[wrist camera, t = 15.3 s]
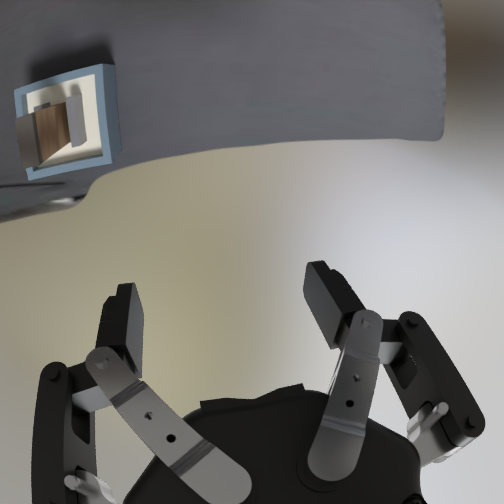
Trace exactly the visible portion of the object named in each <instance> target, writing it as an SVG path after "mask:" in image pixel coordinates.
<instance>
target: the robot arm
mask: <svg viewBox="0 0 504 504" xmlns="http://www.w3.org/2000/svg"><path fill="white" fill-rule="evenodd" d="M303 292H304V297H305V300H306V302H307V304H308V306H309V307H310V310H311V312H312V314H313V316H314V317H315V319H316V321H317V323H318V325H319V327H320V329H321V331H322V333H323V335H324V337H325V339H326V341H327V343H328V345H329V347H330V349H335V348H339V349H340V351H341V353H340V355H339V358H338V361H337V365H336V368H335V371H334V374H333V377H332V380H331V383H330V385H329V388H328V391H327V393H326V394H325V393H322V392H319V391H314V390H305V389H304V386H303V384H302V383H301V384H297V385H292V386H288V387H283V388H279V389H276V390H274V391H272V392H270V393H267V394H265V395H263V396H261V397H258V398H256V399H236V398H221V399H213V400H206V401H200V405H201V408H199V409H197V410H194V411H192V412H191V413H189V414H188V415H186V416H185V417H183V418H182V419H181V418H180V417H179V416H178V415H177V414H176V413H175V412H174V411H173V410H172V409H171V408H170V407H169V406H168V405H167V404H166V403H165V402H164V401H163V400H162V399H161V398H160V397H159V396H158V395H157V394H156V393H155V392H154V391H153V390H152V389H151V388H150V387H149V386H148V385H147V384H146V383H145V382H144V381H142V382H141V381H140V380H139V379H138V378H142V348H143V326H144V314H143V309H142V305H141V302H140V298H139V295H138V291H137V288H136V285H135V283H125V284H119V285H118V288H117V293H116V296H109V297H108V299H107V300H106V302H105V303H104V305H103V309H102V315H101V319H100V324H99V330H98V335H97V340H96V346H95V349H94V350H92V351H91V352H90V353H89V354H88V355H87V357H86V360H85V362H83V363H80V364H78V365H74V366H72V367H68V368H67V367H66V365H65V364H63V363H61V362H52V363H50V364H48V365H46V366H45V367H44V369H43V370H42V372H41V375H40V380H39V386H38V393H37V400H36V408H35V416H34V427H33V439H32V440H33V441H32V461H31V487H32V504H118V503H117V502H116V501H115V499H114V497H113V495H112V492H111V489H110V487H109V486H108V484H106V483H105V482H104V481H103V480H101V479H99V478H98V477H97V467H96V449H95V411H96V410H99V409H102V408H105V407H108V406H110V405H113V406H114V408H115V409H116V410H117V411H118V413H119V414H120V415H121V416H122V418H123V419H124V420H125V421H126V422H127V423H128V425H129V426H130V427H131V428H132V429H133V431H134V432H135V433H136V434H137V435H138V436H139V437H140V439H141V440H142V441H143V442H144V443H145V444H146V445H147V446H148V447H149V448H150V450H152V452H153V453H154V454H155V456H154V458H153V459H152V461H151V462H150V463H149V465H148V466H147V468H146V469H145V470H144V472H143V473H142V475H141V476H140V477H139V479H138V480H137V482H136V483H135V484H134V486H133V487H132V489H131V490H130V491H129V493H128V494H127V496H126V497H125V499H124V501H123V504H427V503H426V501H425V500H424V498H423V496H422V493H421V488H420V469H421V468H422V467H424V466H426V465H428V464H430V463H432V462H433V463H439V462H442V461H444V460H446V459H447V458H448V457H450V456H452V455H453V454H455V453H456V452H457V451H459V450H460V449H462V448H463V447H465V446H466V445H467V444H469V443H470V442H471V441H473V440H474V439H476V438H477V437H478V436H479V435H480V434H482V432H483V431H484V428H485V418H484V416H483V414H482V412H481V410H480V408H479V406H478V404H477V403H476V401H475V399H474V397H473V396H472V394H471V392H470V390H469V389H468V387H467V385H466V383H465V382H464V380H463V378H462V377H461V375H460V373H459V372H458V370H457V368H456V367H455V366H454V364H453V362H452V360H451V359H450V357H449V356H448V354H447V353H446V351H445V350H444V348H443V346H442V345H441V343H440V342H439V340H438V339H437V338H436V336H435V334H434V333H433V331H432V330H431V328H430V327H429V325H428V324H427V322H426V321H425V320H424V318H423V317H422V316H420V315H419V314H417V313H415V312H412V311H407V312H404V313H402V314H401V315H400V317H399V319H398V320H389V319H388V320H387V319H382V318H381V316H380V315H379V314H378V313H376V312H374V311H372V310H367V309H366V308H365V307H364V305H363V304H362V302H361V301H360V299H359V298H358V296H357V295H356V294H355V292H354V291H353V290H352V288H351V286H350V285H349V284H348V282H347V281H346V279H345V278H344V276H343V275H342V274H340V273H339V272H338V271H336V270H335V269H332V270H330V269H329V267H328V266H327V264H326V263H325V261H323V260H321V261H314V262H308V263H307V266H306V273H305V279H304V286H303ZM410 355H411V356H410ZM414 362H415V363H414ZM380 364H383V366H384V368H385V370H386V372H387V374H388V376H389V378H390V380H391V382H392V384H393V386H394V388H395V390H396V392H397V394H398V396H399V398H400V400H401V402H402V405H403V407H404V409H405V411H406V413H407V415H408V417H409V419H410V420H409V422H408V424H407V433H408V434H407V438H408V439H407V438H405V437H403V436H401V435H400V434H398V433H395V432H394V431H392V430H390V429H388V428H386V427H384V426H383V425H381V424H379V423H377V422H375V421H373V420H372V419H370V418H368V415H369V410H370V407H371V402H372V398H373V394H374V389H375V385H376V380H377V375H378V370H379V365H380Z"/></svg>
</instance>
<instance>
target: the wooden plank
mask: <svg viewBox="0 0 504 504" xmlns="http://www.w3.org/2000/svg"><path fill="white" fill-rule="evenodd" d="M15 124H16V131H17V138H18V144H19V149H20V154H21V160H22V164H23V169H26V168H30V167H34V166H38V165H40V164H42V163H43V162H44V161H46V160H47V159H48V158H49V157H51V156H52V155H53V154H55V153H56V152H57V151H59V150H60V149H61V148H63V147H64V146H66V145H67V144H68V143H70V142H71V139H70V132H69V125H68V117H67V108H66V102H63V103H59V104H56V105H52V106H49V107H46V108H43V109H41V110H38V111H35V112H32V113H29V114H27V115H24V116H21V117H19V118H16V119H15Z"/></svg>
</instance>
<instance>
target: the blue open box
mask: <svg viewBox="0 0 504 504" xmlns="http://www.w3.org/2000/svg"><path fill="white" fill-rule="evenodd" d="M14 95H15V105H16V114H17V118H19V117H21V116H24V115H27V114H29V113H32V112H35V111H38V110H41V109H43V108H46V107H49V106H52V105H56V104H59V103H63V102H66V108H67V117H68V125H69V132H70V139H71V142H70V143H68V144H67V145H66V146H64V147H63V148H61V149H60V150H59V151H57V152H56V153H55V154H53V155H52V156H51V157H49V158H48V159H47V160H46V161H44V162H43V163H42V164H40V165H38V166H34V167H30V168H26V171H27V175H28V179H29V180H33V179H37V178H41V177H45V176H50V175H54V174H59V173H63V172H68V171H73V170H78V169H83V168H88V167H93V166H99V165H105V164H111V163H113V161H114V160H115V159H116V157H117V156H118V154H119V153H120V152H121V150H122V145H121V137H120V128H119V118H118V106H117V93H116V76H115V65H110V64H98V65H94V66H90V67H85V68H81V69H78V70H74V71H70V72H67V73H63V74H60V75H56V76H53V77H50V78H47V79H44V80H41V81H38V82H35V83H32V84H29V85H26V86H24V87H21V88H19V89H16V90H14Z"/></svg>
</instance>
